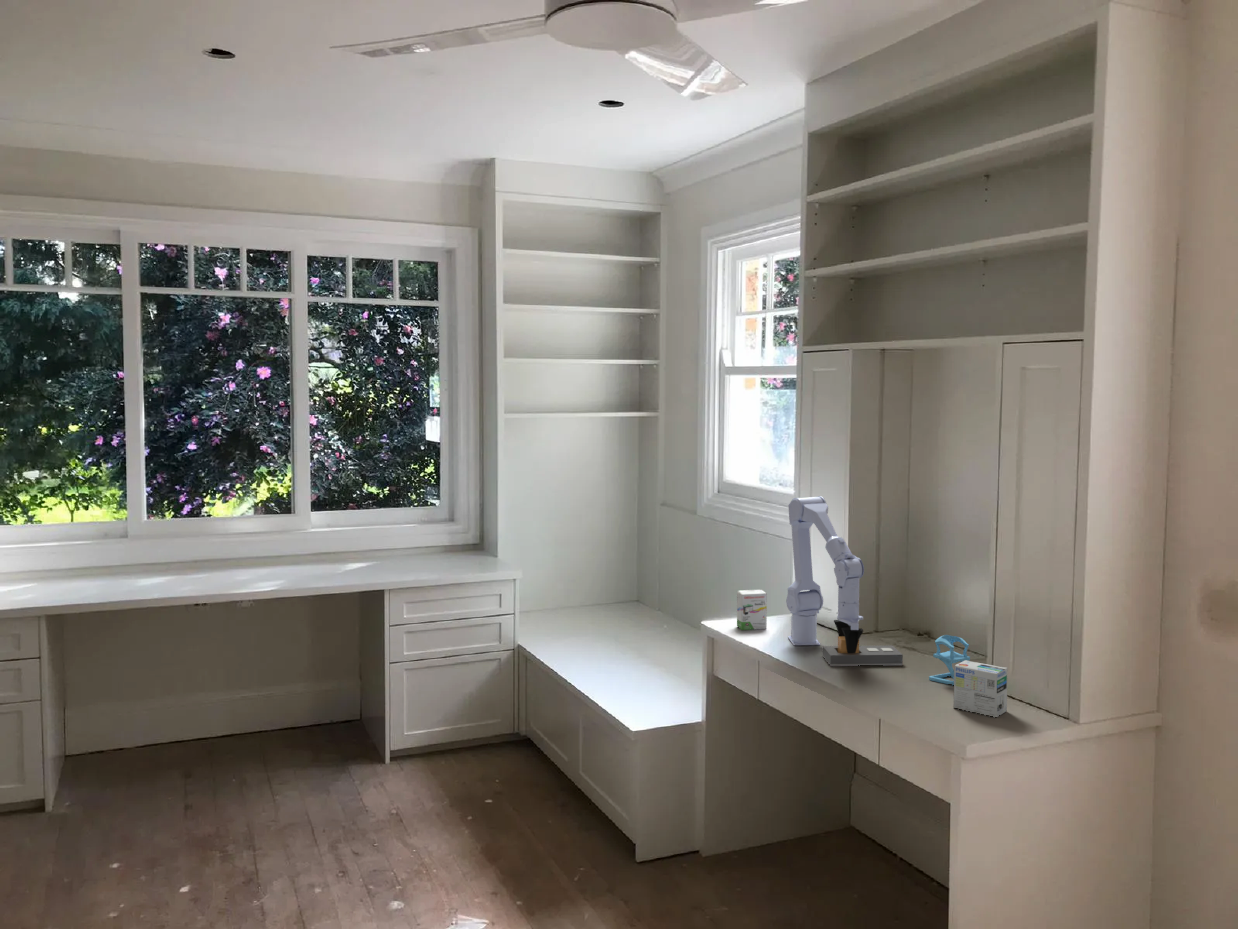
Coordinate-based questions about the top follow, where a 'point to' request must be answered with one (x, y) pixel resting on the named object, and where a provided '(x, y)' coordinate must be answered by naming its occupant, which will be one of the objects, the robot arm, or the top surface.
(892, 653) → the power strip
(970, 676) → the light bulb box
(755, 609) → the ink box
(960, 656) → the chair
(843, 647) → the plug block
